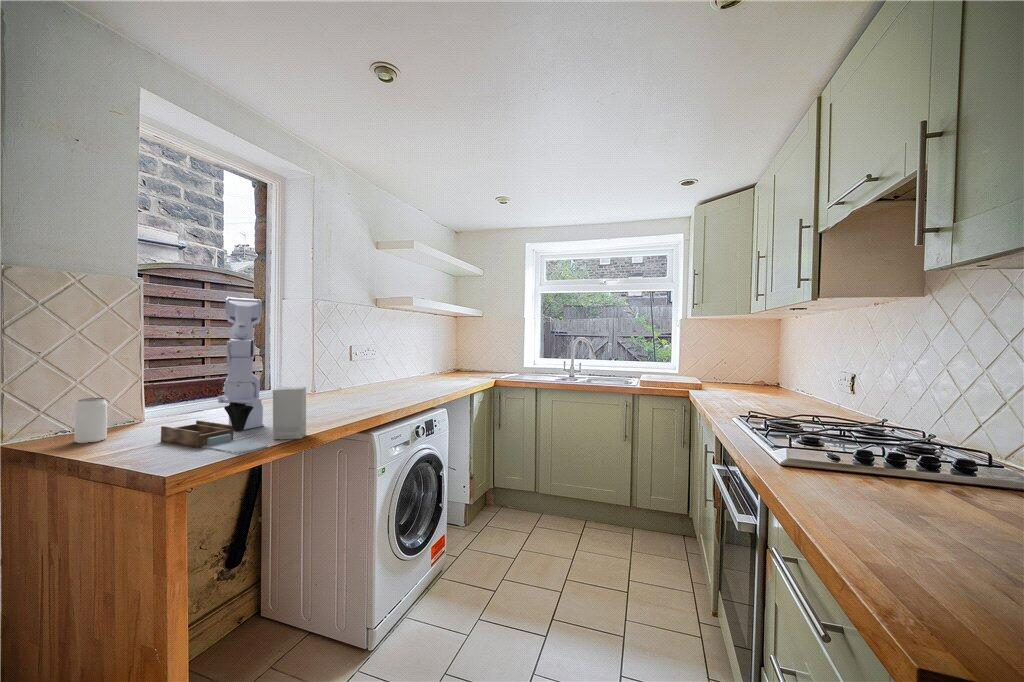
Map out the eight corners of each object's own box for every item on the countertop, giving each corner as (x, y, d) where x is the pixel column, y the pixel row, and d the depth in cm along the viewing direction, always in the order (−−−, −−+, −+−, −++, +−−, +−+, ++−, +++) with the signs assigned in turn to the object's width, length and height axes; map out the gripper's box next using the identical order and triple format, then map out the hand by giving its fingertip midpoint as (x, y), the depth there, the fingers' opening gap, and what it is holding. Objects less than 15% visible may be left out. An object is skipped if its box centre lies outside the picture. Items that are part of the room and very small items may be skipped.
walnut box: (160, 441, 119) (161, 426, 119) (197, 434, 128) (197, 420, 128) (197, 448, 113) (198, 432, 113) (233, 440, 123) (233, 425, 123)
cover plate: (201, 449, 114) (201, 438, 114) (231, 442, 122) (231, 432, 122) (239, 456, 109) (239, 445, 109) (267, 449, 117) (267, 438, 117)
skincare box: (306, 434, 133) (307, 386, 132) (301, 439, 126) (302, 389, 126) (277, 435, 131) (279, 386, 130) (270, 440, 124) (272, 389, 124)
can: (68, 442, 115) (69, 399, 115) (97, 437, 121) (98, 396, 121) (84, 444, 113) (85, 401, 113) (112, 439, 120) (113, 398, 120)
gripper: (207, 381, 114) (206, 430, 114) (244, 385, 109) (243, 436, 109) (232, 379, 120) (231, 425, 120) (268, 382, 115) (267, 431, 115)
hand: (238, 430), depth 115 cm, fingers closed
